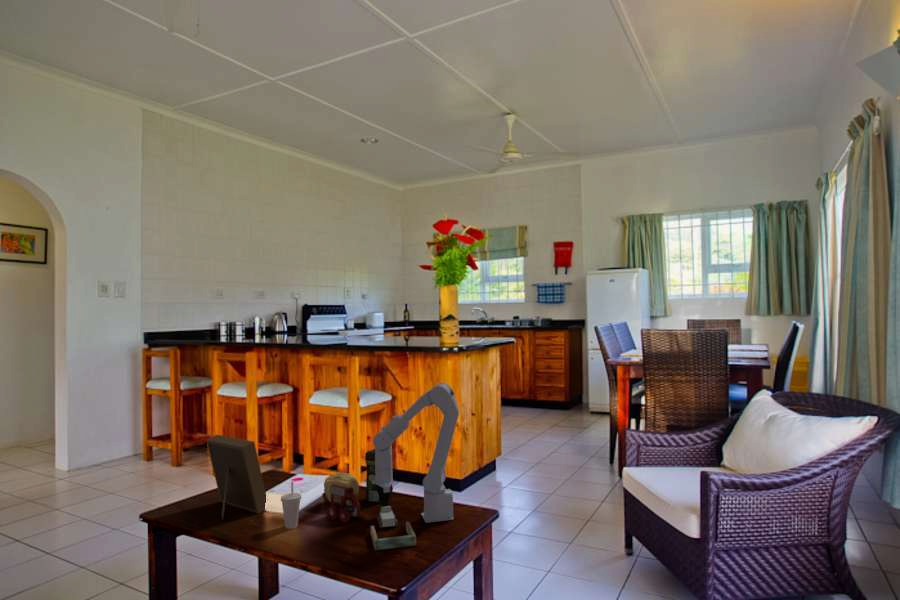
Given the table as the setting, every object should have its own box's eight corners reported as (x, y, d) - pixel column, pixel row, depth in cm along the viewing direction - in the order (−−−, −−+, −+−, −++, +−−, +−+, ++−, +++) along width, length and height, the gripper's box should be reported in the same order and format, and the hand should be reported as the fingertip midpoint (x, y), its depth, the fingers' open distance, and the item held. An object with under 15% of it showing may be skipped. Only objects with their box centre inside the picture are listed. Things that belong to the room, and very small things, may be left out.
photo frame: (231, 498, 197) (230, 431, 198) (268, 509, 185) (267, 438, 186) (193, 511, 185) (192, 440, 185) (230, 524, 173) (230, 447, 173)
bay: (409, 529, 166) (409, 521, 166) (416, 545, 154) (416, 536, 154) (370, 534, 163) (370, 525, 163) (374, 550, 151) (374, 541, 151)
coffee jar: (376, 493, 201) (376, 444, 201) (394, 496, 197) (393, 446, 198) (361, 501, 192) (361, 450, 193) (380, 504, 189) (379, 452, 189)
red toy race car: (351, 524, 171) (351, 492, 171) (323, 517, 177) (323, 486, 178) (365, 517, 177) (365, 486, 177) (338, 511, 183) (337, 480, 183)
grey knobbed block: (394, 519, 174) (394, 505, 175) (397, 527, 168) (397, 512, 168) (377, 521, 173) (377, 507, 173) (379, 529, 166) (379, 514, 167)
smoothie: (305, 524, 171) (305, 480, 172) (292, 531, 166) (291, 486, 166) (290, 521, 174) (290, 478, 175) (276, 528, 168) (276, 484, 169)
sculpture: (319, 507, 187) (319, 476, 188) (336, 496, 199) (336, 467, 199) (348, 510, 184) (348, 478, 184) (364, 498, 195) (363, 469, 196)
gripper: (369, 462, 184) (370, 501, 184) (374, 473, 170) (374, 516, 170) (389, 460, 186) (390, 499, 186) (395, 472, 172) (396, 514, 172)
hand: (384, 507), depth 178 cm, fingers closed
